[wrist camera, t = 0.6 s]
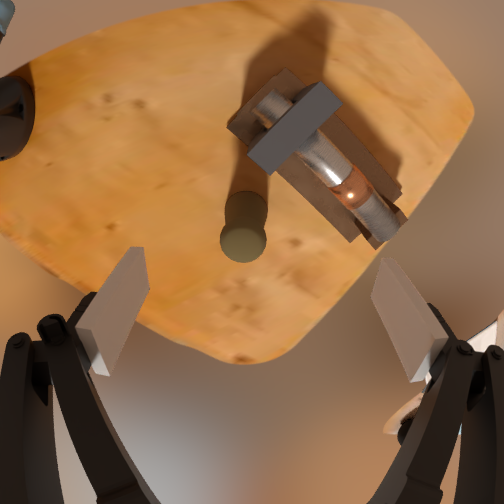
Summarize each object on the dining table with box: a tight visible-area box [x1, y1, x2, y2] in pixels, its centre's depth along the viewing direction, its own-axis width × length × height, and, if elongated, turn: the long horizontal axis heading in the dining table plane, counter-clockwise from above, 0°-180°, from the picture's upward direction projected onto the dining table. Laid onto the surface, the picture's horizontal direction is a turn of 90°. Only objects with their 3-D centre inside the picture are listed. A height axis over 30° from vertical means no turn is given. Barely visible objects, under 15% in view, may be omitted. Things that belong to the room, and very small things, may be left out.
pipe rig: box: [226, 67, 408, 250], centre depth 34 cm, size 24×11×9 cm, turn 48°
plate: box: [425, 321, 497, 384], centre depth 58 cm, size 22×22×2 cm
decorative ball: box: [397, 419, 414, 446], centre depth 67 cm, size 10×10×10 cm
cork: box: [220, 191, 268, 263], centre depth 36 cm, size 6×6×11 cm
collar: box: [247, 81, 343, 175], centre depth 30 cm, size 3×10×10 cm, turn 138°
